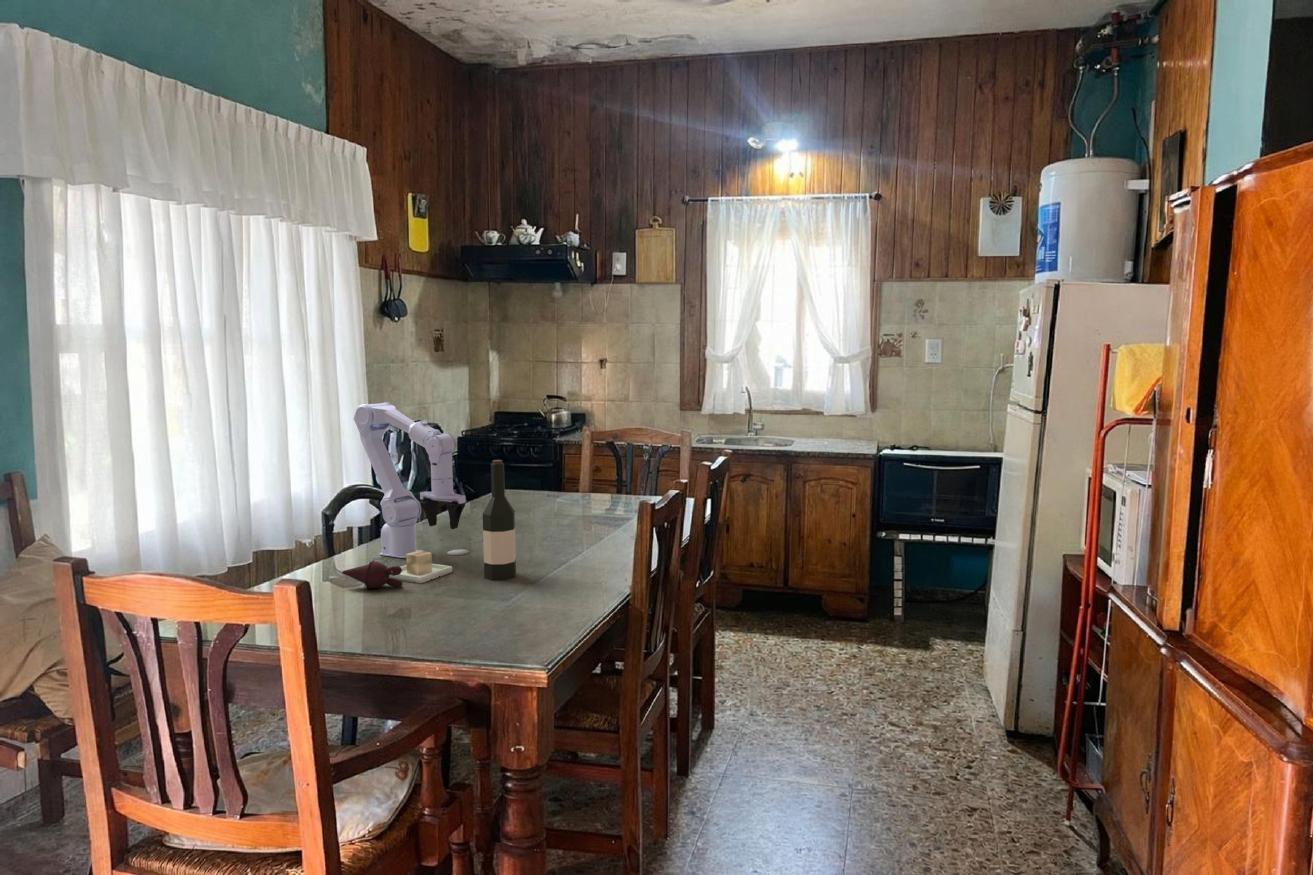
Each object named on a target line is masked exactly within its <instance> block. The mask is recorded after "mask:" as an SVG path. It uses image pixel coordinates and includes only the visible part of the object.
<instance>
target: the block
mask: <svg viewBox="0 0 1313 875" xmlns="http://www.w3.org/2000/svg"><path fill="white" fill-rule="evenodd" d="M432 554H433V553H432V552H429V551H424V550H422V551H416V552H412V553H408V554H406V558H405V559H406V563H405V564H406V565H407V573H409V574H414V575H418V576H419V575H422V574H426V573H429V572H432V564H433V557H432Z"/></svg>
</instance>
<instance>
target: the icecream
mask: <svg viewBox="0 0 1313 875" xmlns="http://www.w3.org/2000/svg"><path fill="white" fill-rule="evenodd" d="M401 572H402V569H401V566H397V565H396V566H395V565H394V566H389V567H387V565H385V564H384V563H381V562H379V561H375V560H371V561H370V562H369V563H368V564H365V565H361V566H356V567H353V568H349V569H345V570H342V574H343V575H346V576H348V577H350V578H352V579H354V580H356V581H358V582H360V583H363V584H364V585H365V588H366V589H367V590H369V589H379V588H382V587H384V586H385V585H388V586H390V587H392V588H397V587H399V588H401V587H402V586H403V584H404V583H403V581H401V580H398V579H394V578H389V575H392V576H395V575H399V574H400V573H401Z"/></svg>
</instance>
